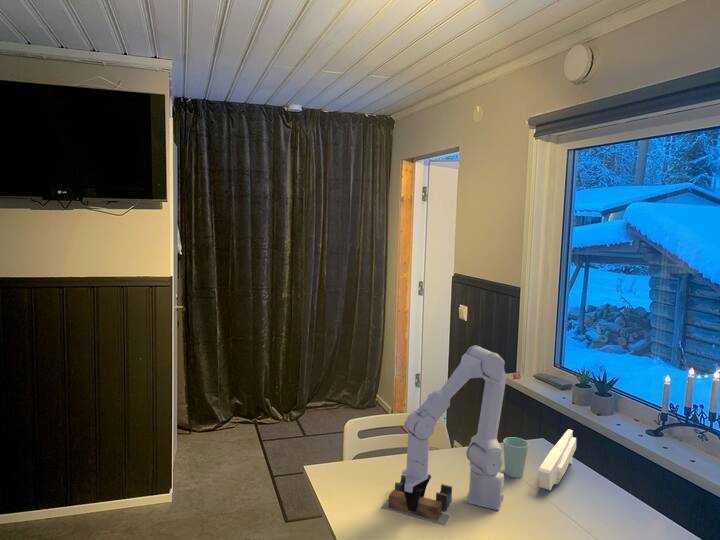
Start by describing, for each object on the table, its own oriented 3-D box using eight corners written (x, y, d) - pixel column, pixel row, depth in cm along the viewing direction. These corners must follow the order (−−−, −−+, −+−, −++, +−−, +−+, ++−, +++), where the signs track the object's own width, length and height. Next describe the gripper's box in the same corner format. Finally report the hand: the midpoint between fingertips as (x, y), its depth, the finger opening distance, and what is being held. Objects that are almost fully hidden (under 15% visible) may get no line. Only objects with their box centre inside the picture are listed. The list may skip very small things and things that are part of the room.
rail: (441, 514, 145) (442, 501, 145) (438, 520, 142) (438, 508, 142) (392, 501, 151) (393, 489, 151) (388, 507, 148) (388, 495, 148)
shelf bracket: (578, 465, 179) (579, 431, 176) (553, 510, 160) (553, 473, 157) (561, 460, 182) (561, 427, 179) (535, 504, 163) (534, 467, 160)
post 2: (451, 501, 153) (452, 486, 152) (445, 511, 147) (446, 496, 147) (441, 498, 154) (441, 483, 154) (435, 509, 149) (436, 493, 148)
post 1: (411, 491, 158) (411, 476, 157) (404, 501, 152) (405, 485, 152) (401, 489, 159) (402, 474, 158) (394, 498, 153) (394, 483, 153)
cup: (521, 467, 175) (523, 437, 174) (530, 479, 167) (532, 447, 166) (498, 467, 175) (500, 436, 174) (506, 479, 167) (508, 447, 166)
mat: (449, 515, 145) (449, 514, 145) (445, 525, 141) (445, 524, 141) (387, 499, 153) (387, 498, 153) (380, 508, 148) (381, 507, 148)
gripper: (412, 444, 153) (410, 490, 155) (394, 465, 140) (392, 515, 142) (436, 449, 151) (433, 496, 152) (420, 471, 137) (417, 521, 139)
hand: (415, 505), depth 147 cm, fingers open, 5 cm apart
